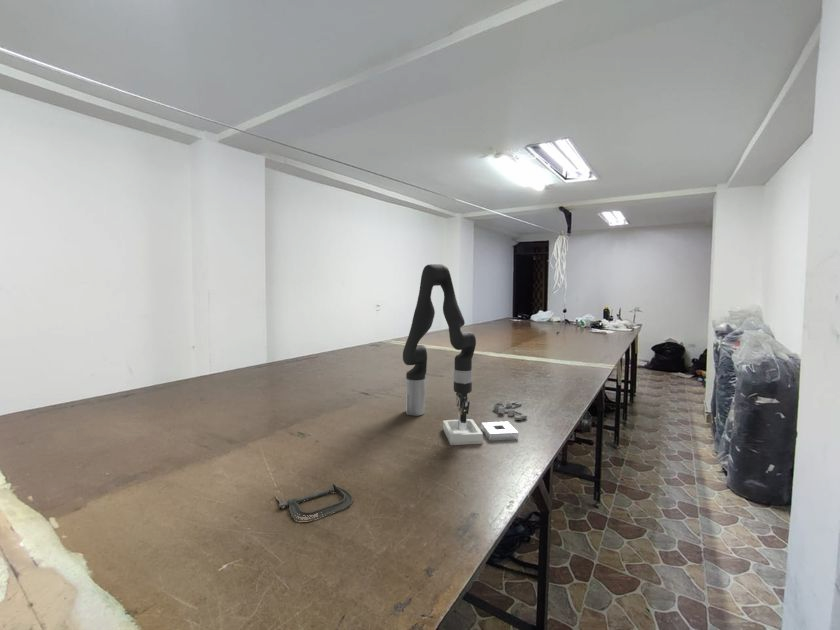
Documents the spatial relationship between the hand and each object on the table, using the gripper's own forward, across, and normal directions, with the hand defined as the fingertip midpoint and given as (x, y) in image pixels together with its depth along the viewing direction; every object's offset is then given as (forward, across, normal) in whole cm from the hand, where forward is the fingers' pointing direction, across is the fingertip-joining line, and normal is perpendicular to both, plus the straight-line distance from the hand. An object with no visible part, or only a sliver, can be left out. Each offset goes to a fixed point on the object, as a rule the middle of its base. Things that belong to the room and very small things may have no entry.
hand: (462, 420), depth 157 cm
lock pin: (+4, 0, 0) cm, 4 cm away
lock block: (+7, 0, +16) cm, 17 cm away
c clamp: (+7, +41, -54) cm, 68 cm away
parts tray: (+7, 0, 0) cm, 7 cm away
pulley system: (+7, -27, +30) cm, 41 cm away
